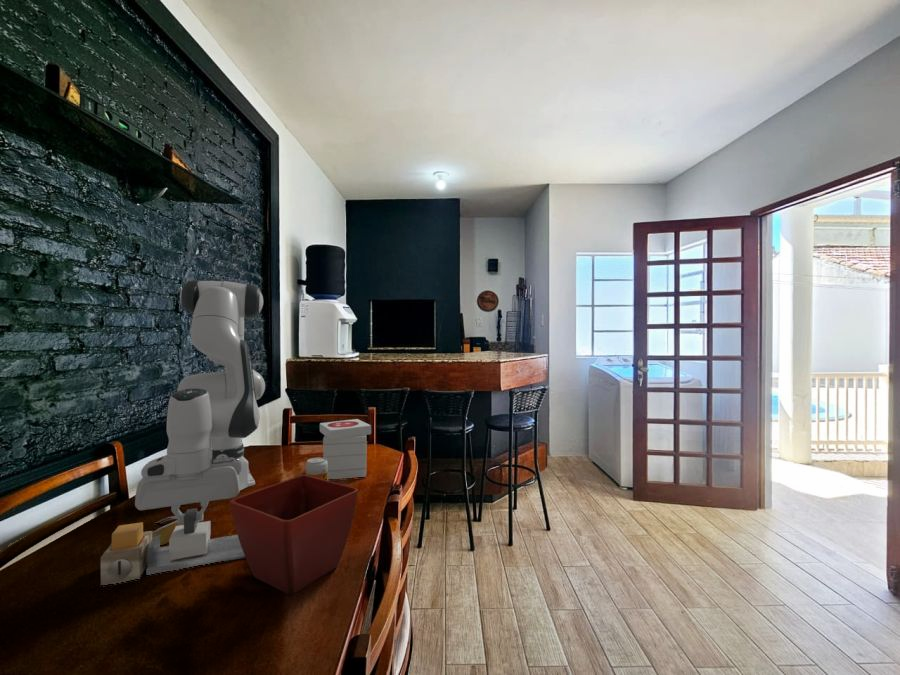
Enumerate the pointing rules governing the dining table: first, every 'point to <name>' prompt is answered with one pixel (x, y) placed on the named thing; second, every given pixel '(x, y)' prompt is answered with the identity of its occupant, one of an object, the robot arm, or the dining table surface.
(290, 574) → the plant pot
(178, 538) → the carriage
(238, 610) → the dining table surface
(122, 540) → the orange cube
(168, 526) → the sunglasses
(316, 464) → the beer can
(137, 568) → the box
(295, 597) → the dining table surface
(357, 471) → the pizza boxes
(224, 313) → the robot arm
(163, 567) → the rail
